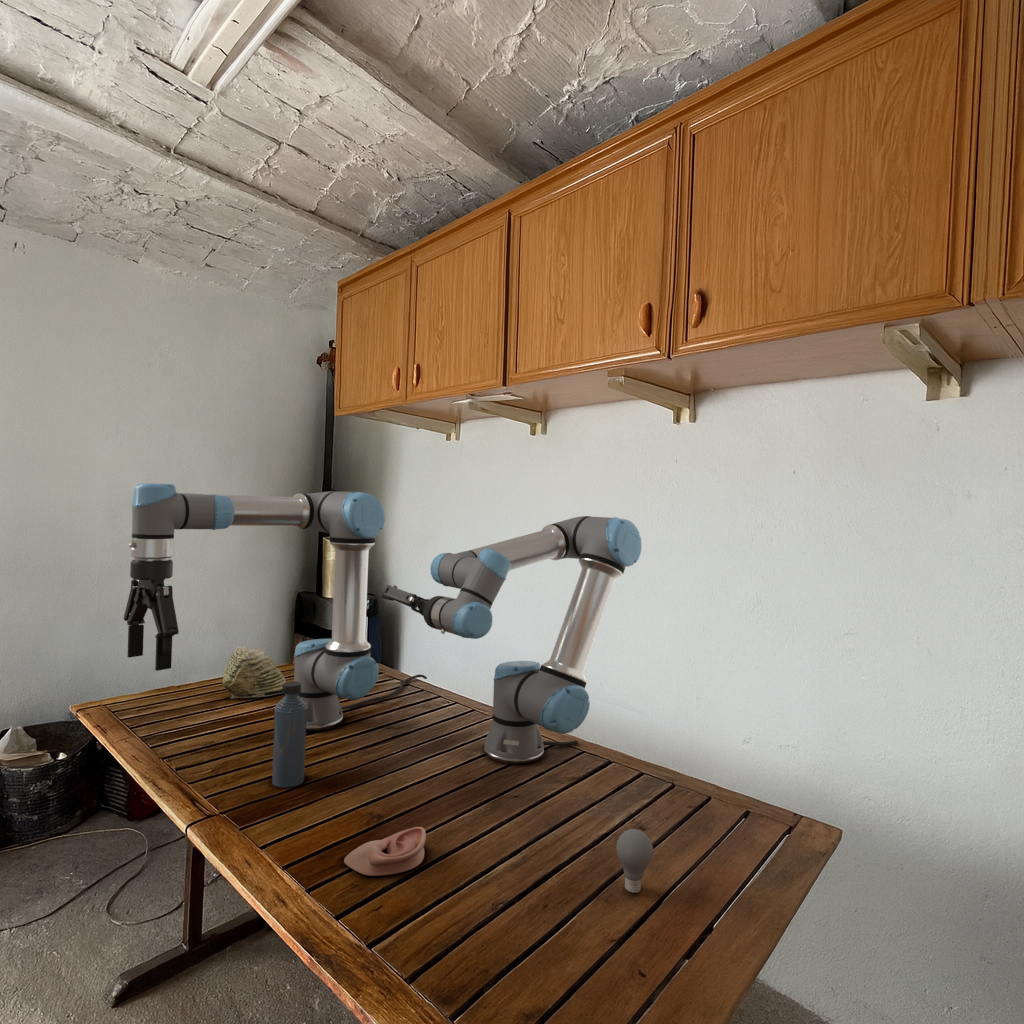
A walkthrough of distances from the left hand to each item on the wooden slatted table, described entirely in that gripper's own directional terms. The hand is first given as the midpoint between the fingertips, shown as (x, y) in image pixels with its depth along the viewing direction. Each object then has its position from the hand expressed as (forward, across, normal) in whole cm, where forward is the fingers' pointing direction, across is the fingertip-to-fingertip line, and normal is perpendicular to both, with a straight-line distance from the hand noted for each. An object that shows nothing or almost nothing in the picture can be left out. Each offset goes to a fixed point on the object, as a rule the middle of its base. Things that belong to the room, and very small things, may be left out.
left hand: (148, 662), depth 129 cm
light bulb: (+28, +90, +41) cm, 103 cm away
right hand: (-9, +18, +54) cm, 57 cm away
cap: (+7, +13, +24) cm, 29 cm away
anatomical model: (+28, +53, +19) cm, 63 cm away
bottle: (+28, +13, +24) cm, 40 cm away
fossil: (+28, -47, +50) cm, 74 cm away
